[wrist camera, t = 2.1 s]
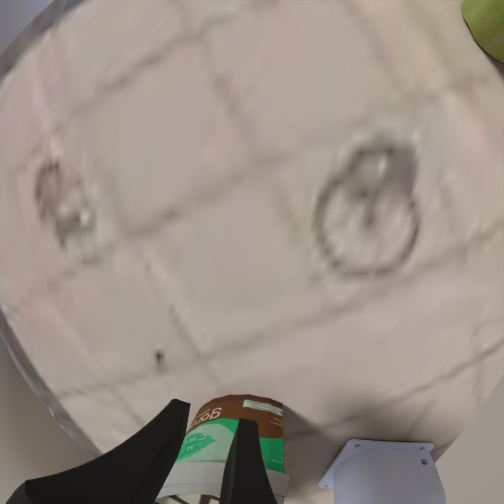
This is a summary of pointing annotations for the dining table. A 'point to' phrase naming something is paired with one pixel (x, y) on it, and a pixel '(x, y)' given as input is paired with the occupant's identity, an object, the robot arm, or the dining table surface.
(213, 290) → the dining table surface
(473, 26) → the plant pot
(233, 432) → the food container
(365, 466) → the robot arm
